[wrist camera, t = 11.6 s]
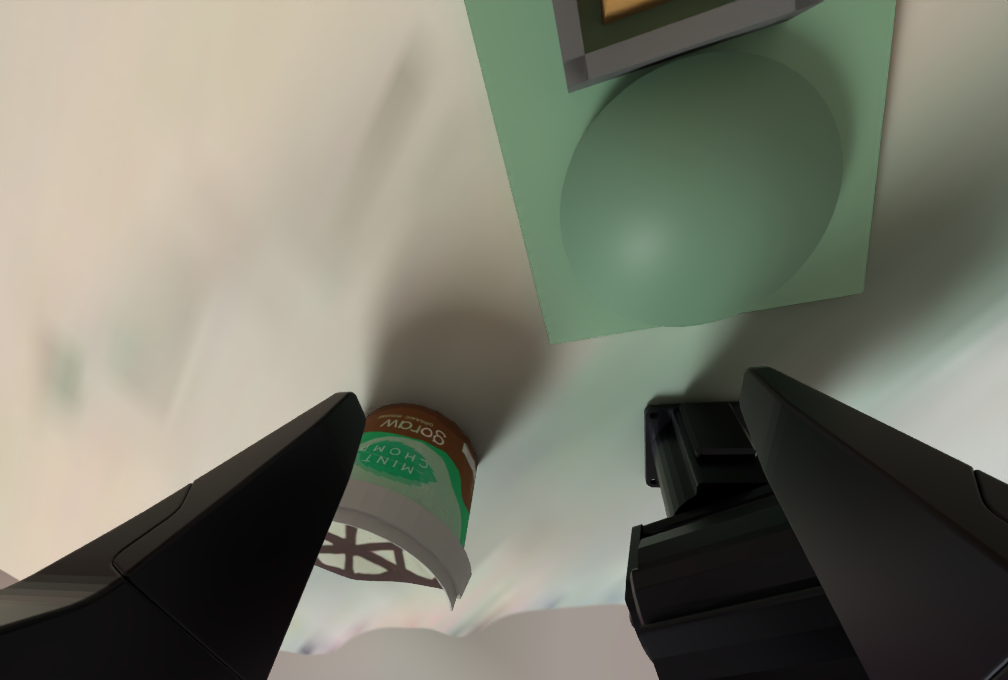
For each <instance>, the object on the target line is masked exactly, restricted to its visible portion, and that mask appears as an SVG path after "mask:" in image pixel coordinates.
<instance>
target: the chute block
mask: <svg viewBox="0 0 1008 680" xmlns="http://www.w3.org/2000/svg"><path fill="white" fill-rule="evenodd" d="M671 1H673V0H600V8H601V15H602V23H603V25H606V24H609V23H612V22H614V21H617V20H620V19H623V18H626V17H629V16H631V15H634V14H637V13H640V12H643V11H645V10H648V9H651V8H654V7H657V6H659V5H662V4H665V3H668V2H671Z"/></svg>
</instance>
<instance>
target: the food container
mask: <svg viewBox="0 0 1008 680" xmlns="http://www.w3.org/2000/svg"><path fill="white" fill-rule="evenodd" d="M476 471H477V459H476V453H475V451H474V449H473V447H472V445H471V443H470V440H469V438H468V437H467V436H466V435H465V434H464V433H463V431H462V430H461V429H460V428H459V427H458V426H457V425H456V424H455V423H454V422H452V421H451V420H449V419H448V418H446V417H445V416H443V415H442V414H440V413H439V412H437V411H434V410H432V409H429V408H426V407H423V406H419V405H414V404H404V403H401V404H391V405H387V406H384V407H381V408H379V409H377V410H375V411H374V412H372V413H371V414H370V415H369V416H368V417H367V418H366V426H365V429H364V433H363V436H362V440H361V443H360V446H359V450H358V453H357V456H356V460H355V463H354V467H353V470H352V473H351V476H350V479H349V482H348V484H347V487H346V490H345V492H344V494H343V497H342V499H341V502H340V504H339V507H338V509H337V511H336V514H335V516H334V519H333V521H332V524H331V526H330V528H329V531H328V533H327V536H326V538H325V540H324V543H323V545H322V548H321V550H320V553H319V555H318V557H317V560H316V562H315V565H316V566H319V567H321V568H324V569H326V570H329V571H331V572H334V573H336V574H339V575H341V576H344V577H347V578H350V579H355V580H366V581H394V582H406V583H413V584H418V585H424V586H429V587H435V588H440V589H444V591H445V593H446V595H447V598H448V600H449V604H450V609H451V611H453V607H454V604H455V601H456V598H458V599H461V597H462V595H463V592H464V590H465V588H466V586H467V584H468V582H469V579H470V577H471V575H472V573H471V566H470V562H469V560H468V557H467V554H466V552H465V550H464V545H465V539H466V533H467V527H468V520H469V514H470V508H471V502H472V496H473V489H474V483H475V477H476Z"/></svg>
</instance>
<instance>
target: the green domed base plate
mask: <svg viewBox="0 0 1008 680" xmlns="http://www.w3.org/2000/svg"><path fill="white" fill-rule="evenodd" d="M464 2H465V6H466V10H467V14H468V18H469V23H470V27H471V31H472V35H473V39H474V43H475V47H476V51H477V55H478V59H479V63H480V67H481V71H482V75H483V79H484V83H485V87H486V91H487V95H488V99H489V103H490V107H491V111H492V115H493V119H494V123H495V127H496V131H497V135H498V139H499V143H500V147H501V151H502V155H503V159H504V163H505V167H506V171H507V175H508V179H509V183H510V187H511V191H512V195H513V199H514V203H515V207H516V211H517V215H518V219H519V223H520V227H521V231H522V235H523V239H524V243H525V247H526V251H527V255H528V259H529V263H530V267H531V271H532V275H533V279H534V283H535V287H536V291H537V295H538V299H539V303H540V307H541V311H542V315H543V319H544V323H545V327H546V331H547V335H548V339H549V343H550V345H552V344H558V343H564V342H570V341H576V340H582V339H588V338H594V337H600V336H606V335H612V334H618V333H624V332H631V331H637V330H643V329H649V328H655V327H661V326H665V327H685V326H694V325H701V324H706V323H710V322H715V321H718V320H721V319H724V318H727V317H730V316H733V315H735V314H740V313H746V312H752V311H758V310H764V309H770V308H776V307H782V306H788V305H794V304H800V303H806V302H812V301H818V300H824V299H830V298H837V297H843V296H849V295H855V294H861V293H863V292H864V283H865V274H866V265H867V256H868V248H869V239H870V230H871V221H872V212H873V203H874V194H875V185H876V177H877V168H878V159H879V150H880V141H881V132H882V123H883V115H884V106H885V97H886V88H887V79H888V70H889V61H890V52H891V44H892V35H893V26H894V17H895V8H896V0H673V1H671V2H668V3H665V4H662V5H659V6H657V7H654V8H651V9H648V10H645V11H643V12H640V13H637V14H634V15H631V16H629V17H626V18H623V19H620V20H617V21H614V22H612V23H609V24H606V25H603V23H602V15H601V8H600V0H464Z"/></svg>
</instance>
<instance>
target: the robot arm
mask: <svg viewBox="0 0 1008 680" xmlns="http://www.w3.org/2000/svg"><path fill="white" fill-rule="evenodd" d="M652 412H656V414H654V415H651V414H650V413H652ZM365 426H366V418H365V414H364V412H363V410H362V408H361V405H360V403H359V401H358V399H357V396H356V395H355V394H354V393H353V392H339V393H335V394H334V395H332V396H330V397H329V398H327V399H326V400H324V401H322V402H321V403H319V404H318V405H316V406H314V407H313V408H311V409H309V410H308V411H306V412H305V413H303V414H301V415H300V416H298V417H297V418H295V419H293V420H292V421H290V422H288V423H287V424H285V425H284V426H282V427H280V428H279V429H277V430H276V431H274V432H272V433H271V434H269V435H267V436H266V437H264V438H263V439H261V440H259V441H258V442H256V443H255V444H253V445H251V446H250V447H248V448H246V449H245V450H243V451H242V452H240V453H238V454H237V455H235V456H234V457H232V458H230V459H229V460H227V461H225V462H224V463H222V464H221V465H219V466H217V467H216V468H214V469H213V470H211V471H209V472H208V473H206V474H204V475H203V476H201V477H200V478H198V479H196V480H195V481H194V482H193V484H192V483H190V484H188V485H187V486H185V487H183V488H182V489H180V490H179V491H177V492H175V493H174V494H172V495H170V496H169V497H167V498H165V499H164V500H162V501H160V502H159V503H157V504H155V505H154V506H152V507H151V508H149V509H147V510H146V511H144V512H142V513H140V514H139V515H137V516H135V517H133V518H132V519H130V520H128V521H127V522H125V523H123V524H121V525H120V526H118V527H116V528H114V529H113V530H111V531H109V532H107V533H106V534H104V535H102V536H100V537H98V538H97V539H95V540H93V541H91V542H90V543H88V544H86V545H84V546H83V547H81V548H79V549H77V550H75V551H74V552H72V553H70V554H68V555H67V556H65V557H63V558H61V559H59V560H58V561H56V562H54V563H52V564H51V565H49V566H47V567H45V568H44V569H42V570H40V571H38V572H36V573H35V574H33V575H31V576H29V577H27V578H25V579H23V580H21V581H19V582H17V583H15V584H13V585H11V586H8V587H6V588H4V589H1V590H0V680H267V678H268V676H269V673H270V671H271V669H272V666H273V664H274V661H275V659H276V657H277V654H278V652H279V649H280V647H281V644H282V642H283V640H284V637H285V635H286V632H287V630H288V628H289V625H290V623H291V620H292V618H293V615H294V613H295V611H296V608H297V606H298V603H299V601H300V599H301V596H302V594H303V591H304V589H305V586H306V584H307V582H308V579H309V577H310V574H311V572H312V569H313V567H314V565H315V562H316V560H317V557H318V555H319V553H320V550H321V548H322V545H323V543H324V540H325V538H326V536H327V533H328V531H329V528H330V526H331V524H332V521H333V519H334V516H335V514H336V511H337V509H338V507H339V504H340V502H341V499H342V497H343V494H344V492H345V490H346V487H347V484H348V482H349V479H350V476H351V473H352V470H353V467H354V463H355V460H356V456H357V453H358V450H359V446H360V443H361V440H362V436H363V433H364V429H365ZM644 431H645V479H646V483H647V485H648V486H650V487H660V488H661V493H662V497H663V501H664V506H665V510H666V514H667V518H665V519H662V520H659V521H656V522H653V523H650V524H647V525H644V526H643V525H642V524H641V525H638V526H635V527H632V533H631V542H630V551H629V559H628V568H627V576H626V591H625V601H626V604H627V607H628V609H629V612H630V614H629V617H630V621H631V624H632V626H633V627H634V628H635V631H636V633H637V636H638V638H639V640H640V642H641V644H642V647H643V649H644V650H645V652H646V654H647V655H648V657H649V658H650V660H651V661H652V662H653V663H654V666H655V669H656V672H657V675H658V677H659V680H1008V484H1006V483H1004V482H1002V481H1000V480H998V479H996V478H994V477H992V476H990V475H988V474H986V473H984V472H982V471H980V470H973V468H972V467H971V466H970V465H968V464H965V463H963V462H961V461H959V460H957V459H955V458H953V457H951V456H949V455H947V454H945V453H943V452H941V451H939V450H937V449H935V448H933V447H931V446H929V445H927V444H925V443H923V442H921V441H919V440H917V439H915V438H913V437H911V436H909V435H907V434H905V433H903V432H901V431H899V430H897V429H894V428H892V427H890V426H888V425H886V424H884V423H882V422H880V421H878V420H876V419H874V418H872V417H870V416H868V415H866V414H864V413H862V412H860V411H858V410H856V409H854V408H852V407H850V406H848V405H846V404H844V403H842V402H840V401H838V400H836V399H834V398H832V397H830V396H828V395H826V394H824V393H821V392H819V391H817V390H815V389H813V388H811V387H809V386H807V385H805V384H803V383H801V382H799V381H797V380H795V379H793V378H791V377H789V376H787V375H785V374H783V373H781V372H779V371H777V370H775V369H773V368H771V367H750V368H748V369H746V370H745V372H744V376H743V381H742V387H741V393H740V399H739V402H706V403H683V404H660V405H649V406H647V407H646V408H645V411H644ZM652 479H655V480H652Z"/></svg>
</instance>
